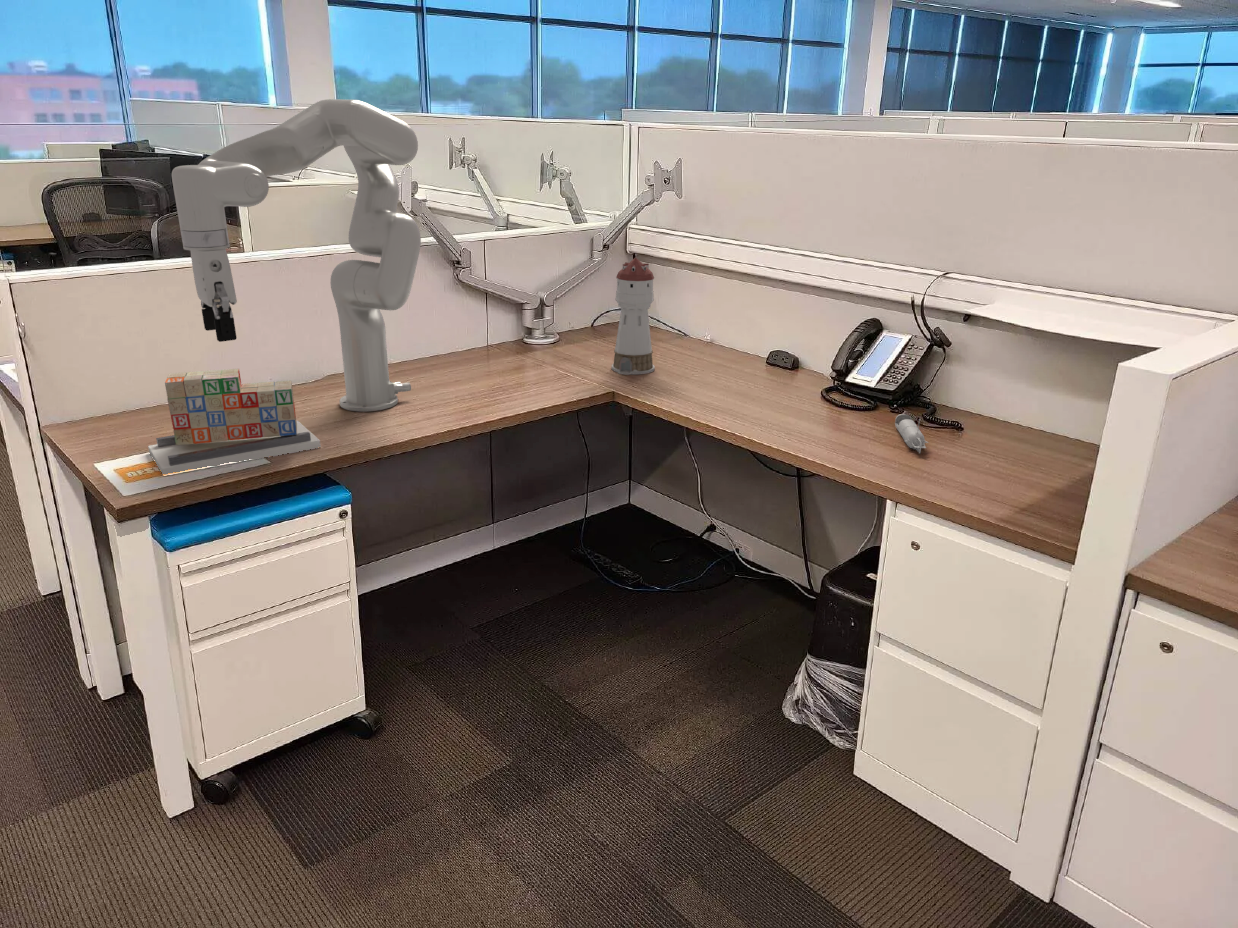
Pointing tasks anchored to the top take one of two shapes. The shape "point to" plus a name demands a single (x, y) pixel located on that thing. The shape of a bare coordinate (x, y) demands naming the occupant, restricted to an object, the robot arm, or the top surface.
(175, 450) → the base board
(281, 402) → the stack of blocks
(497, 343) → the top surface
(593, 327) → the top surface
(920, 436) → the torpedo
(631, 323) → the miniature model
